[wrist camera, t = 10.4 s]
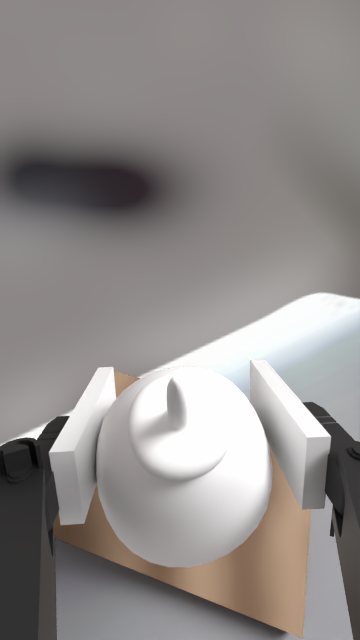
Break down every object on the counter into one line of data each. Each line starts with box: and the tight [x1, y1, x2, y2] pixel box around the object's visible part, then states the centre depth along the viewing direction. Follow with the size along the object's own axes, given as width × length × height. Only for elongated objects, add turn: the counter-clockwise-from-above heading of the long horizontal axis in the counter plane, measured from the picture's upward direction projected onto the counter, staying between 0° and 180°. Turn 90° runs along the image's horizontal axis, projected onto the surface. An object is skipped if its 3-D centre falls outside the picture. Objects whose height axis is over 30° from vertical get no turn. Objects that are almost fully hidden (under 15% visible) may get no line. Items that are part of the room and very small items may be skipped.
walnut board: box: [53, 371, 311, 638], centre depth 26 cm, size 20×14×2 cm
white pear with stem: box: [96, 367, 272, 567], centre depth 13 cm, size 8×8×18 cm
